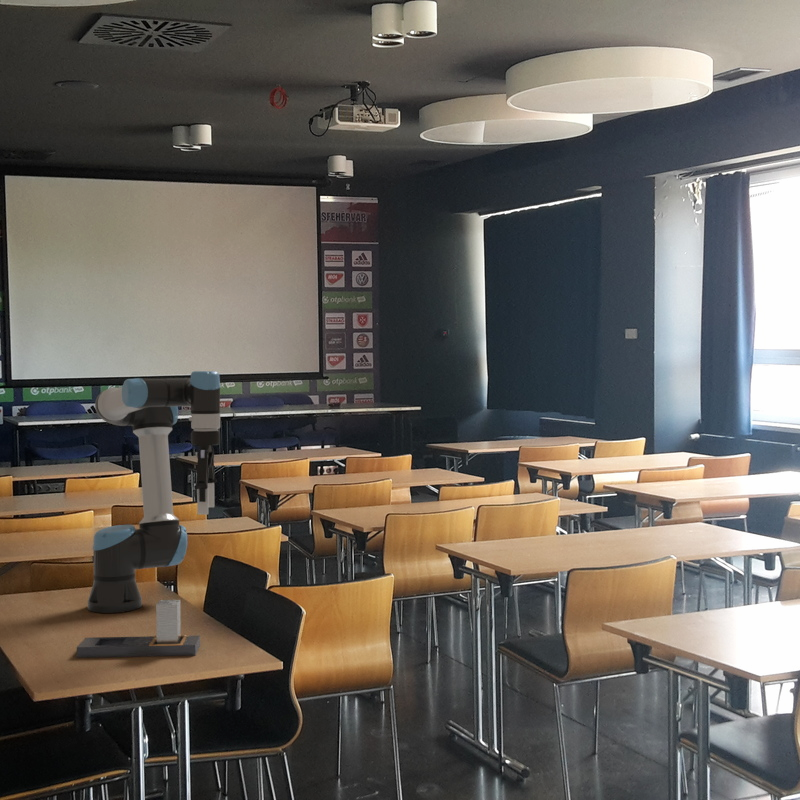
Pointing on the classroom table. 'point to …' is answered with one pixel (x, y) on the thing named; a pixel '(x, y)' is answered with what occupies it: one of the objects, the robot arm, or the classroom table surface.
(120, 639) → the peg insertion base
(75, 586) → the classroom table surface
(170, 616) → the square gray post
